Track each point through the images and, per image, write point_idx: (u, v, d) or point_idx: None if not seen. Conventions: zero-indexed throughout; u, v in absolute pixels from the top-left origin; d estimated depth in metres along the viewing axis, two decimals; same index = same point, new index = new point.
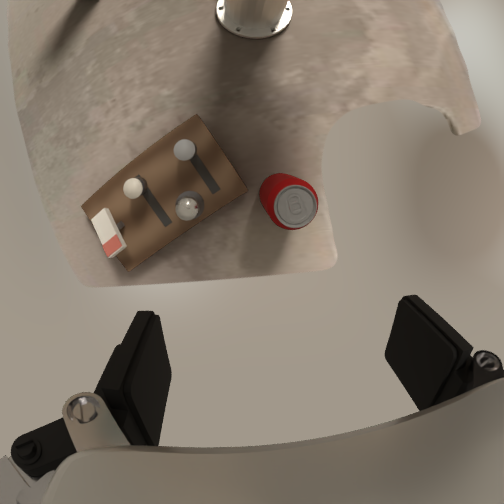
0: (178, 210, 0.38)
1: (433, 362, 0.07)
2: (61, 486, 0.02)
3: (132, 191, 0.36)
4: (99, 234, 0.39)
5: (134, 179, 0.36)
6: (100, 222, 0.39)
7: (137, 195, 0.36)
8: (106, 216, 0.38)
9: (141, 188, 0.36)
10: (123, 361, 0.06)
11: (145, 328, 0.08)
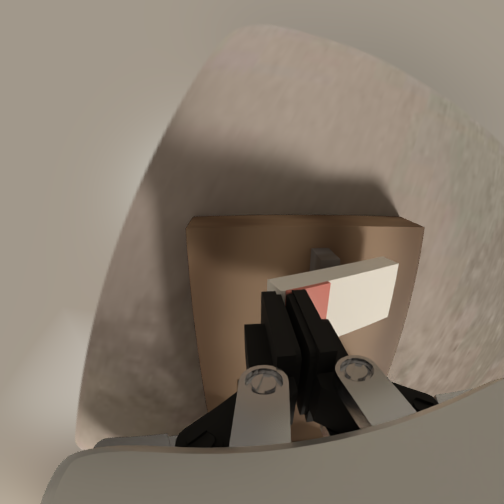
0: None
1: (301, 361, 0.08)
2: (61, 486, 0.02)
3: None
4: (358, 280, 0.12)
5: None
6: (375, 295, 0.13)
7: None
8: (371, 318, 0.13)
9: None
10: (282, 332, 0.08)
11: (279, 305, 0.09)
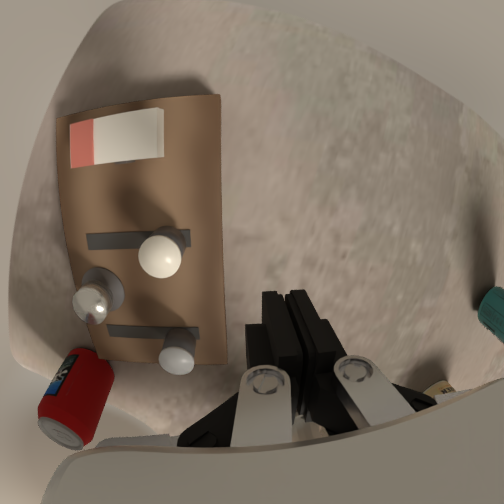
0: (90, 296, 0.19)
1: None
2: (61, 486, 0.02)
3: (153, 254, 0.18)
4: (115, 119, 0.15)
5: (173, 271, 0.18)
6: (135, 132, 0.15)
7: (141, 258, 0.18)
8: (136, 154, 0.16)
9: (150, 272, 0.18)
10: (283, 332, 0.08)
11: (280, 305, 0.09)
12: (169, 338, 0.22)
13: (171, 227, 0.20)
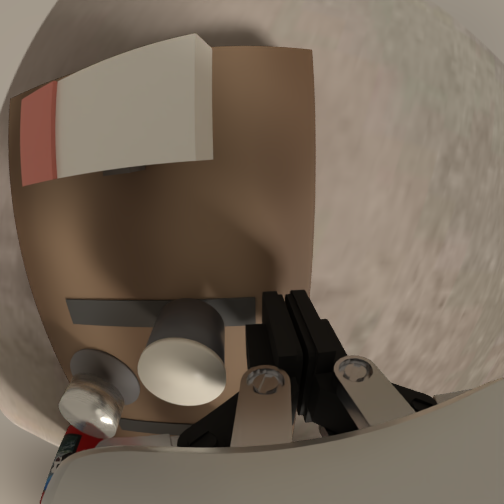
0: (87, 408, 0.10)
1: None
2: (61, 486, 0.02)
3: (169, 372, 0.08)
4: (96, 73, 0.06)
5: (210, 397, 0.09)
6: (138, 97, 0.06)
7: (144, 377, 0.08)
8: (141, 152, 0.06)
9: (164, 396, 0.09)
10: (283, 332, 0.08)
11: (280, 305, 0.09)
12: None
13: (197, 303, 0.10)
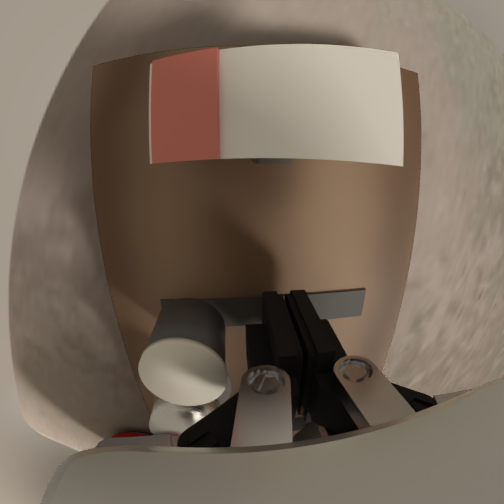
0: (191, 419, 0.10)
1: None
2: (61, 486, 0.02)
3: (170, 372, 0.08)
4: (286, 54, 0.06)
5: (211, 397, 0.09)
6: (346, 94, 0.06)
7: (145, 377, 0.08)
8: (350, 148, 0.06)
9: (165, 396, 0.09)
10: (283, 332, 0.08)
11: (281, 305, 0.09)
12: None
13: (197, 303, 0.10)
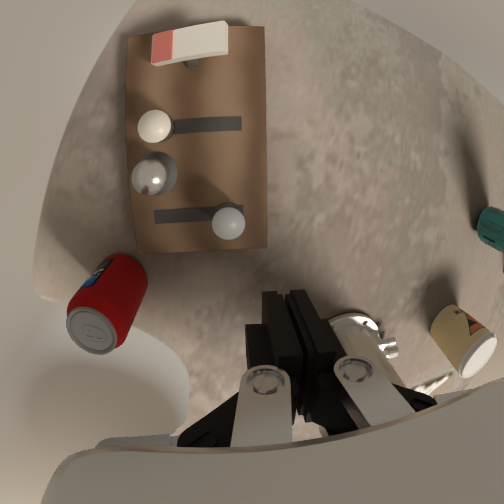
0: (153, 165, 0.23)
1: None
2: (61, 486, 0.02)
3: (149, 123, 0.21)
4: (191, 28, 0.18)
5: (163, 136, 0.21)
6: (207, 36, 0.18)
7: (139, 128, 0.21)
8: (208, 49, 0.19)
9: (145, 139, 0.21)
10: (283, 332, 0.08)
11: (280, 305, 0.09)
12: (221, 206, 0.26)
13: None
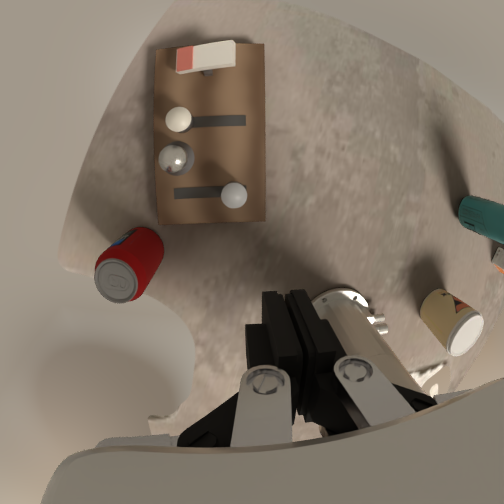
0: (176, 149, 0.30)
1: None
2: (61, 486, 0.02)
3: (175, 117, 0.28)
4: (207, 45, 0.25)
5: (185, 126, 0.28)
6: (219, 51, 0.25)
7: (167, 120, 0.28)
8: (220, 62, 0.26)
9: (171, 128, 0.28)
10: (283, 332, 0.08)
11: (280, 305, 0.09)
12: (228, 183, 0.32)
13: None
